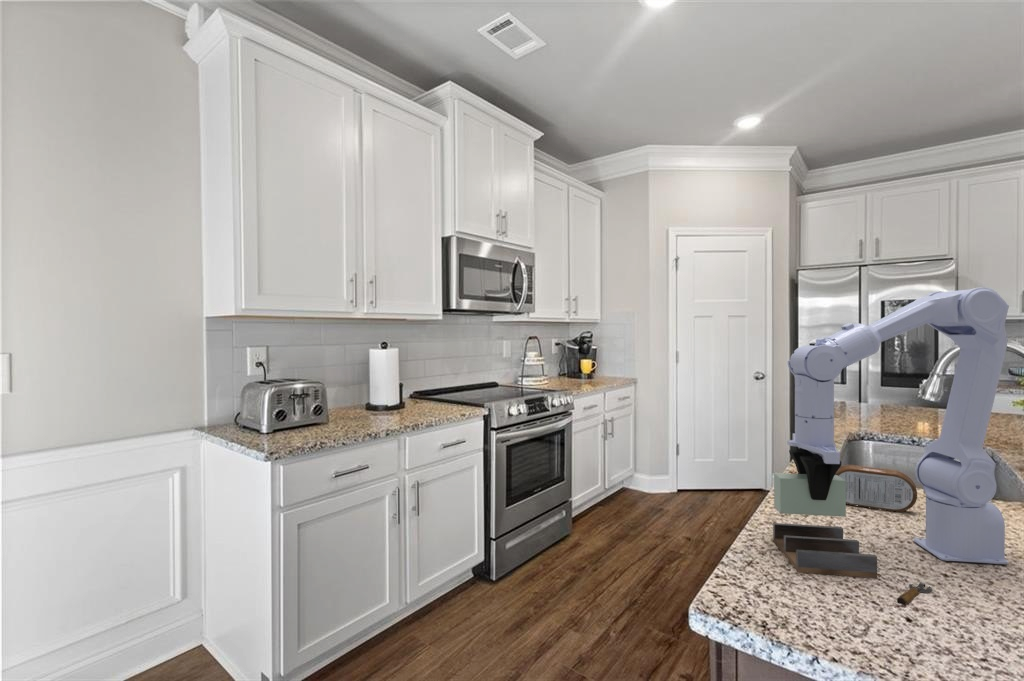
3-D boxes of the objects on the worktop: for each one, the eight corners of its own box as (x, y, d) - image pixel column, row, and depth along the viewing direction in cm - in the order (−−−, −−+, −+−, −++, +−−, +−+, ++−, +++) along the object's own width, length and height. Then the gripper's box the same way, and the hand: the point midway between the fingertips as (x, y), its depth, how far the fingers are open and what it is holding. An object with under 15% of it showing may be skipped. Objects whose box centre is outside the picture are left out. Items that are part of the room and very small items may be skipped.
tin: (916, 512, 104) (916, 471, 104) (918, 516, 101) (918, 475, 101) (830, 499, 112) (830, 461, 112) (830, 503, 109) (830, 465, 109)
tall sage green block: (774, 507, 88) (774, 473, 88) (837, 510, 87) (836, 475, 86) (780, 513, 85) (780, 478, 85) (845, 516, 83) (845, 480, 83)
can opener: (905, 608, 69) (905, 599, 69) (886, 600, 71) (886, 592, 71) (937, 591, 73) (937, 583, 73) (918, 585, 75) (918, 577, 75)
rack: (841, 545, 88) (841, 526, 88) (877, 578, 76) (877, 556, 76) (773, 540, 90) (773, 522, 90) (798, 572, 78) (798, 551, 78)
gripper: (774, 409, 93) (774, 482, 94) (804, 423, 79) (804, 509, 79) (816, 409, 92) (816, 484, 92) (854, 424, 78) (854, 511, 78)
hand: (814, 495), depth 86 cm, fingers closed on tall sage green block, 3 cm apart
